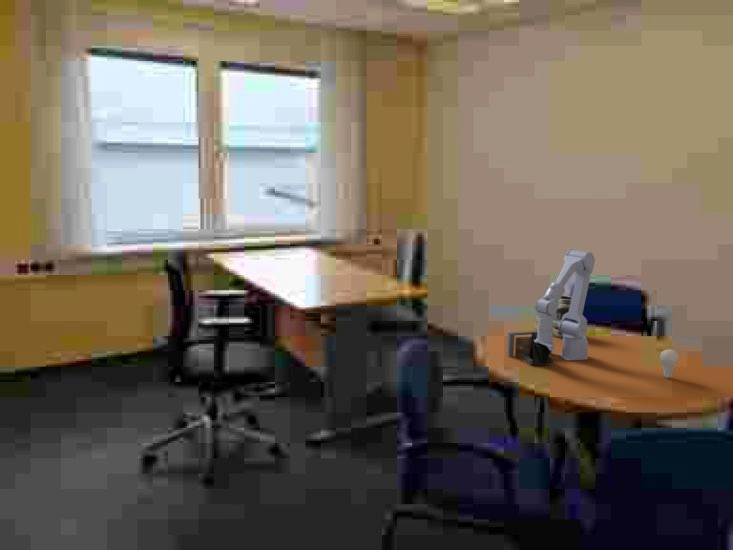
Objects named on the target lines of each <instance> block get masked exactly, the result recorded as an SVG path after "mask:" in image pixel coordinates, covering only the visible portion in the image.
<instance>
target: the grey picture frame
mask: <svg viewBox="0 0 733 550" xmlns="http://www.w3.org/2000/svg"><path fill="white" fill-rule="evenodd" d="M537 330H538V329H537ZM537 330H519V331H507V347H506V348H507V350H506V356H508V357H509V356H513V357H515V336H528V335H530V336H532V333H537ZM552 337H554V336H553V334H552ZM552 351H553V350H552ZM552 351H551V352H550V354H549V355H552Z"/></svg>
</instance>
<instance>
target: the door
mask: <svg viewBox="0 0 733 550" xmlns="http://www.w3.org/2000/svg"><path fill="white" fill-rule="evenodd" d="M531 340H532V336H522V337H521V336H520V337H516V336H515V341H514V357H515V358H521V354H522V353H524V354H526V355H527V356H528V357H529V353H530V346H531Z"/></svg>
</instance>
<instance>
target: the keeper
mask: <svg viewBox="0 0 733 550" xmlns="http://www.w3.org/2000/svg"><path fill="white" fill-rule="evenodd" d="M521 358H522V360H523V361H524V360H525V361H526V362H527V363H526V362H525V361H524V362H525V363H526V364H527V365H529V366H530V365H531V366H534V364H533V360H532V359H531V358H529V357H528V356H527V355H526V354H524V353H522V354H521V357H520V359H521ZM549 358H550V365H554V364H555V358H553V357H552V356H550V355H549Z"/></svg>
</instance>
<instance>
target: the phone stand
mask: <svg viewBox="0 0 733 550" xmlns="http://www.w3.org/2000/svg"><path fill="white" fill-rule="evenodd" d="M531 337H532V340H531V346H530V353H529V358H531V359H532V360H533V366H550V365H551V364H550V358H549V357H548V360H547V362H546V363H541V362H540V358H539V353H538V350H537V348H536V344H539V343H535V342H534V340H536V338H537V333H532V335H531Z"/></svg>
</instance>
